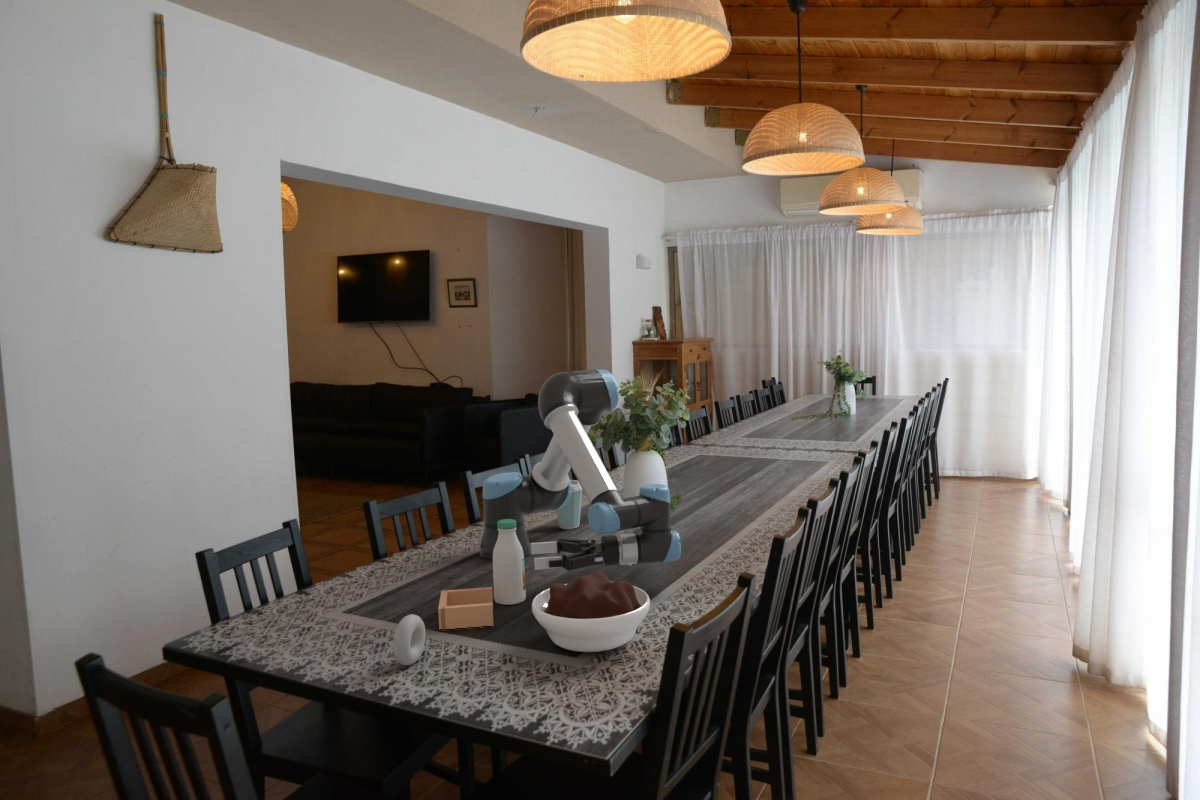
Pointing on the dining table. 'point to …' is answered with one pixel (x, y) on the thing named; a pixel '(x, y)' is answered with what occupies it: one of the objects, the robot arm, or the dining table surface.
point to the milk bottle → (508, 565)
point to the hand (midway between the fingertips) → (532, 556)
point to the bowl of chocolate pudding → (591, 612)
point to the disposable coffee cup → (571, 508)
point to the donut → (409, 639)
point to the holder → (466, 608)
